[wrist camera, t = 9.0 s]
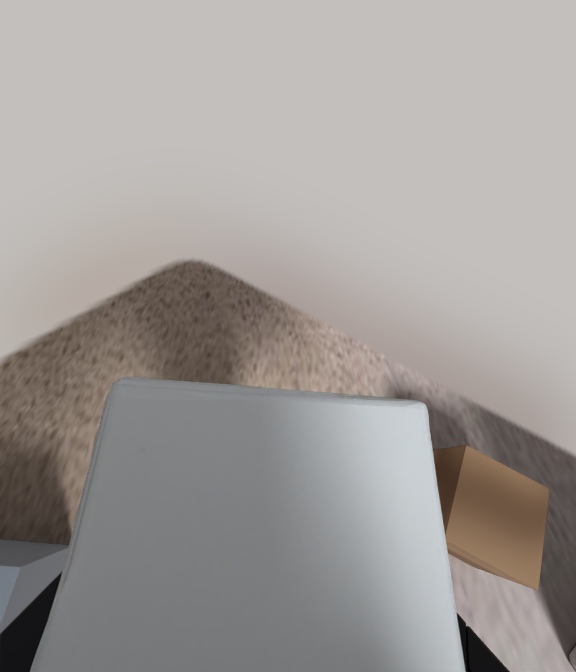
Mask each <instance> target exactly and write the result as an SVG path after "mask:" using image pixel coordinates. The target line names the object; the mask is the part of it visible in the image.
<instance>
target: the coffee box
mask: <svg viewBox="0 0 576 672" xmlns="http://www.w3.org/2000/svg"><path fill="white" fill-rule="evenodd" d="M569 658H570V663H571V664H572V666H573V667H574V668H575V670H576V646H575V648H574V649H573V650H572V652H571V653H570V655H569Z"/></svg>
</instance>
